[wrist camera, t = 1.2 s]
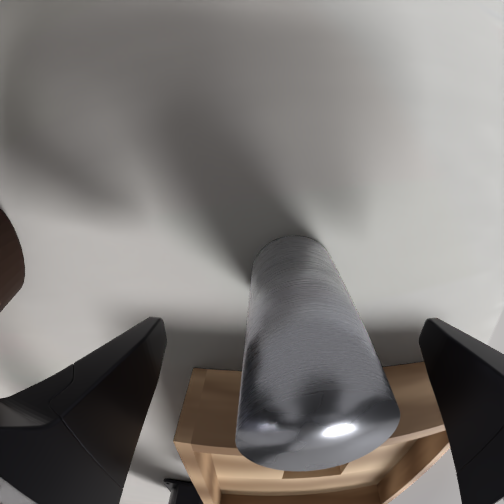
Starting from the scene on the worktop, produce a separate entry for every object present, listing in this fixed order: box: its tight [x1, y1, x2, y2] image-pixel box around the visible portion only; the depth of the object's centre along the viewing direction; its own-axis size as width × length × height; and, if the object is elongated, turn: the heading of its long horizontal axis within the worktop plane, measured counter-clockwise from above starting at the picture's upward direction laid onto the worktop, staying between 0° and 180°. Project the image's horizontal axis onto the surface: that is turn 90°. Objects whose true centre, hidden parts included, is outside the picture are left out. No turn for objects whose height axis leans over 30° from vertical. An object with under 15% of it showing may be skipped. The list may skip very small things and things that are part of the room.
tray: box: [173, 362, 450, 504], centre depth 15 cm, size 16×16×5 cm
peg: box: [235, 236, 400, 471], centre depth 9 cm, size 4×4×8 cm
